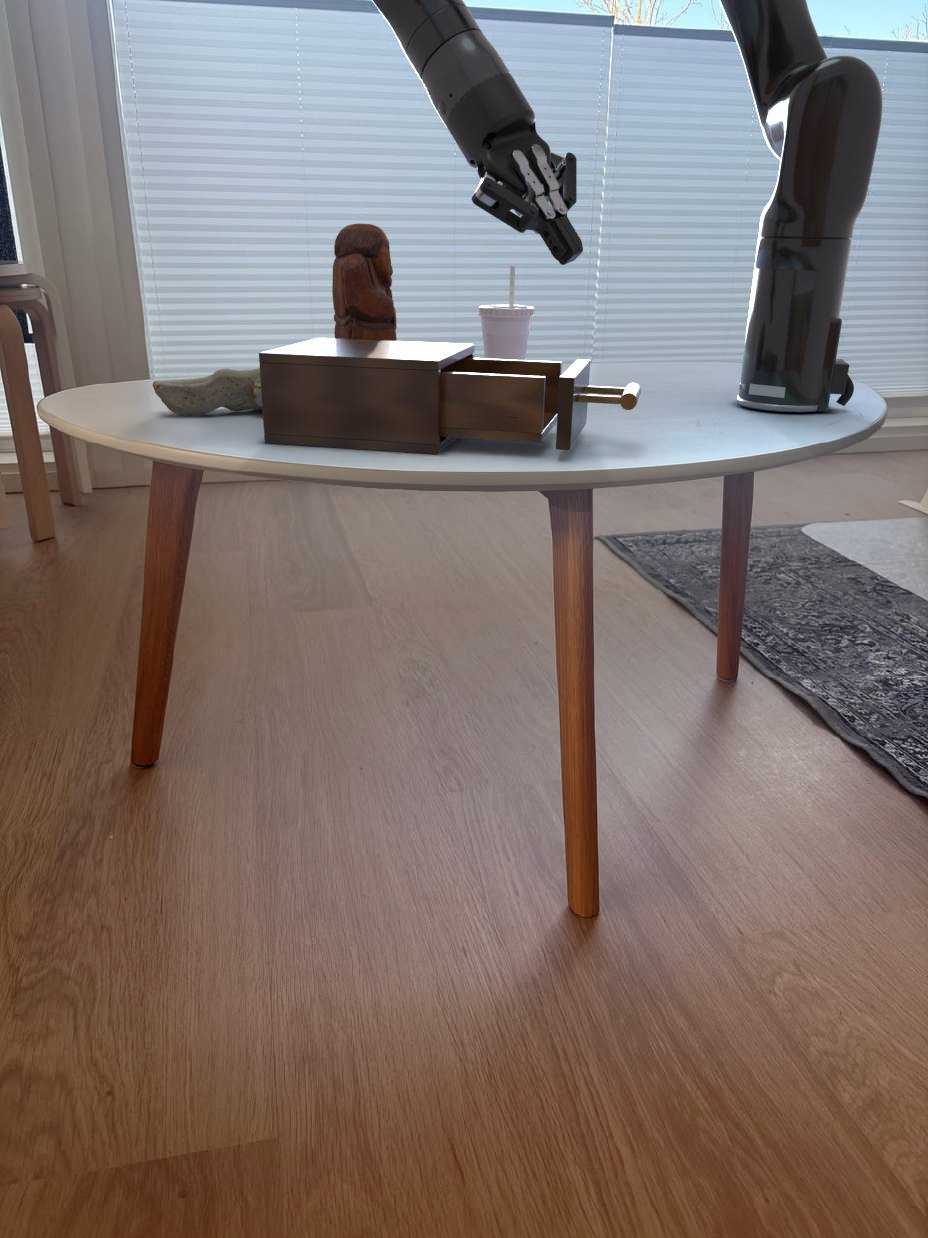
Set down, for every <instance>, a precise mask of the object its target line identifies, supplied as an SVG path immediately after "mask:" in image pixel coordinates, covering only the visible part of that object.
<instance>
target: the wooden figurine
mask: <svg viewBox="0 0 928 1238" xmlns="http://www.w3.org/2000/svg"><path fill="white" fill-rule="evenodd" d="M333 249H334V257H335V258H334V261H333V264H332V285H331V286H332V303H333V311H334V314H333V320H334V322H335V323H334V333H333V334H334V338H336V339H361V340H385V341H398V340H397V339H398V338H397V328H398V327H397V310H396V307H395V303H394V299H393V291H392V289H391V287H392V285H393V278H392V275H393V274H394V269H393V265H392V258H391V251H390V249H391V248H390V241H389V239H388V237H387V235H386V232H385V231H384V230H383V229H382V228H381V227H379V226H378V225H376V224H373V223H351V224H348V225H345V226H344V227H343V228H342V229H341V230H340V231H339V232H338V234H337V235H336V238H335V241H334V248H333Z"/></svg>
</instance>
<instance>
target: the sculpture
mask: <svg viewBox="0 0 928 1238" xmlns="http://www.w3.org/2000/svg"><path fill="white" fill-rule="evenodd" d="M152 388H153V390H154V392H155V394H156V395H157V397H159V399H160V401H161V402H162V403H163V404H164V405H165V407H166V408H167V409H168V410H169V411H170V412H172V413H174V414H177V415H179V416H183V417H188V416H197V415H202V414H206V413H210V412H213V411H214V410H217V409H219V408H224V409H226V410H229V411H231V412H237V413H238V412H245V411H250V410H262V395H261V380H260V367H256V368H249V369H239V370H238V369H233V368H232V369H231V368H220V369H217V370H216V371H214V372H213V373H212V374H210V375H208V376H204V377H195V378H185V379H158V380H157V379H156V380H154V381H153V382H152Z"/></svg>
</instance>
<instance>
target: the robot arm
mask: <svg viewBox="0 0 928 1238" xmlns="http://www.w3.org/2000/svg"><path fill="white" fill-rule="evenodd" d="M371 2H372V3H373V4H374V6H375V7H376V8H377V9H378V11H379V13H380V14H381V15H382V16H383V18H384V19H385V21H386V23H388V25H389V26H390V28H391V30H392V32H393V33H394V34H395V38H396V39H397V41H398V43H399V45H400V47H401V49H402V51H403V53H404V54H405V57H406V58H407V60H408V61H409V63H410V65H411V66H412V68H413V69H414V71H415V73H416V74H417V76H418V78H419V79H420V81H421V83H422V84H423V87H424V88H425V90H426V93H427V95H428V97H429V100H430V102H431V104H432V106H433V108H434V109H435V111H436V113H437V114H438V116H439V118H440V120H441V121H442V122H443V124H444V126H445V127H446V130H447V131H448V133H449V135H450V136H451V138H452V139H453V141H454V142H455V144H456V146H457V148H458V150H459V151H460V152H461V154H462V155H463V158H464V160H466V162H467V164H468V165H469V166H470V167H471V168H473V169H476V172H477V175H478V177H479V178H480V182H479V184H478V187H477V188H476V190H475V191H474V192H473V194H472V196H471V201H472V203H473V204H474V205H475V206H476V207H478V208H479V209H481V210H482V211H484V212H486V213H487V214H489V215H491V216H492V217H494V218H495V219H497V220H499V221H501V222H502V223H503V224H505V225H507V226H508V227H510V228H511V229H514V230H515V231H517V232H518V233H520V234H524V233H525V232H527V231H533V233H534V234H536V235H539V236H540V237H541V239H542V241H543V243H544V244H545V245H546V247H547V248H548V250H549V252H550V254H551V255H552V257H553V258H554V259H555V260H556V261H558V263H559V264H560V265H561V266H564V265H567V264H569V263H572V262H574V261H576V260H577V259H578V258H579V256H580V255H582V253H583V251H584V246H583V242H582V239H581V237H580V236H579V235H578V232H577V231H576V229H575V227H574V226H573V224H572V223H571V221H570V219H569V217H568V212H569V211H570V209H572V208H573V207H574V205H576V203H577V202H578V201H577V190H578V189H577V188H578V187H577V184H578V183H577V181H578V180H577V179H578V178H577V175H578V173H577V171H578V170H577V167H578V166H577V165H578V164H577V161H578V159H577V157H576V155H575V154H574V153H572V152H567V153H566V154H565V155H564V156H561V155H558V154H557V153H554V152H551V147H550V145H549V144H548V142H547V141H545V139H543V138H542V137H541V136H540V135H539V134H538V132H537V127H536V120H537V119H536V114H535V112H534V111H535V110H533V108H532V106H531V105H530V103H529V102H528V99H527V98H526V96H525V95H524V93H523V91H522V90H521V88H520V87H519V85H518V83H517V82H516V80H515V78H514V77H513V75H512V73H511V71H510V70H509V68H508V67H507V65H506V63H505V61H504V60H503V59H502V57H501V55H500V54H499V53H498V50H497V49H496V47H494V45H492V43H491V42H490V41H489V40H488V38H487V37H486V35H484V33H483V31H482V29H481V28H480V25H479V24H478V22H477V21H476V19H475V18H474V15H473V14H472V13H471V11H470V9H469V8H468V6H467V5H466V3H465V2H464V0H371ZM718 2H719V4H720V7H721V9H722V12H723V13H724V16H725V18H726V21H727V23H728V25H729V27H730V30H731V32H732V34H733V36H734V40H735V41H736V44H737V47H738V50H739V52H740V56H741V59H742V62H743V65H744V69H745V72H746V76H747V79H748V84H749V87H750V89H751V94H752V97H753V101H754V105H755V109H756V112H757V116H758V120H759V123H760V127H761V130H762V133H763V137H764V139H765V142H766V144H767V146H768V148H769V150H770V151H771V152H772V153H773V155H774V157H776V158H777V159H779V161H780V163H779V170H778V174H777V175H778V176H777V181H776V185H775V188H774V191H773V194H772V196H771V198H770V200H769V202H768V203H767V204H766V206H765V207H764V209H762V210H763V211H762V213H761V216H760V220H759V221H760V222H759V229H758V231H759V232H758V238H757V244H756V252H755V253H756V254H755V262H754V270H753V278H752V286H751V293H750V300H749V308H748V318H747V325H746V333H745V341H744V349H743V355H742V365H741V372H740V381H739V385H738V394H737V397H736V404H738V405H739V406H741V407H745V408H748V409H753V410H760V411H768V412H779V413H813V412H817V413H818V412H819V413H823V412H824V413H827V412H828V410H829V405H830V400H831V399H830V398H831V395H840V396H839V397H838V398H837V400H836V403H837V404H838V405H841V406H843V407H845V406H846V405H847V404H848V402H849V401H850V400H851V398H852V397H853V396H854V391H855V384H854V382H853V380H852V378H851V377H850V375H849V370H850V364H849V363H848V362H846V361H845V360H844V359H843V358H837V356H838V350H839V344H840V337H841V330H842V324H843V319H842V318H841V317H840V314H841V308H842V302H843V296H844V289H845V285H846V277H847V271H848V265H849V258H850V253H851V246H852V238H853V235H854V234H853V233H854V229H855V225H856V221H857V219H858V217H859V215H860V214H861V211H862V209H863V207H864V205H865V202H866V199H867V196H868V191H869V187H870V182H871V176H872V172H873V166H874V162H875V158H876V152H877V147H878V143H879V137H880V131H881V125H882V117H883V93H882V86H881V82H880V80H879V78H878V75H877V73H876V72H875V71H874V69H873V68H872V67H871V66H870V65H869V64H868V63H867V62H866V61H864V60H863V59H860V58H859V57H857V56H856V57H855V56H851V55H835V56H831V57H828V56H827V54H826V51H825V50H824V47H823V44H822V42H821V39H820V37H819V35H818V32H817V30H816V27H815V25H814V23H813V19H812V16H811V13H810V10H809V7H808V2H807V0H718ZM511 210H513V212H512V211H511ZM514 212H515V213H514Z"/></svg>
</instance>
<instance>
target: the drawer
mask: <svg viewBox="0 0 928 1238" xmlns="http://www.w3.org/2000/svg"><path fill="white" fill-rule="evenodd" d="M562 367H563V361H555V360H553V361H552V360H533V359H532V360H531V359H530V360H529V359H528V360H527V359H525V360H510V359H487V358H485V357H483V358H482V357H474V358H463V359H461V360H459V361H457V362H455V363H453V364H451V365H449V366H447V367H445V368H443V369H441V370H440V371H441V384H440V437H450V438H457V439H466V440H467V439H468V440H482V441H483V440H487V441H498V442H499V441H501V442H514V443H515V442H516V443H532V444H541V443H542V442H543V441H544V440H545V439H546V437H547V436H548V435H549V433H550V432H551V430H552V429H553V428H554V427H555V425H556V435H555V450H557V451H571V450H572V448H573V447H574V444H575V443H576V442H577V440H578V438H579V436H580V435H581V433H582V431H583V430H584V428H585V426H586V424H587V419H588V403H589V404H604V405H605V404H608V405H620V407H621V408H622V409H623V410H626V411H631V410H633V409H635V408H636V407H637V404H638V402H639V399H640V396H641V393H642V388H641V386H640V385H639V384H638V383H636V382H631V383H628V384H627V385H626V386H625V387H622V386H620V387H619V386H603V385H600V386H599V385H589V384H590V374H591V372H590V371H591V359H581V358H580V359H579V358H577V359H576V360H575V361H574V362H573V363H572V364H571V365H570V366H569V367H568V368H567V369H566V370H565V371H564V372H563V373H562V369H563V368H562Z"/></svg>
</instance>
